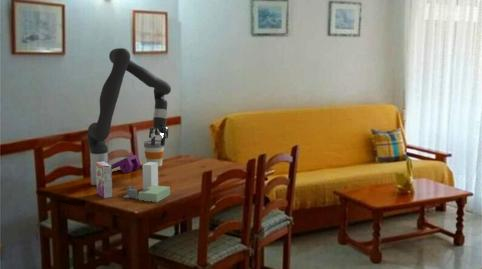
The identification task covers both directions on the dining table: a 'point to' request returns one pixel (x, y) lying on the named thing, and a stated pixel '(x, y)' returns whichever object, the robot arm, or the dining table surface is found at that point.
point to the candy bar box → (104, 179)
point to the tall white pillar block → (150, 174)
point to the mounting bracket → (127, 164)
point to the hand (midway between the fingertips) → (157, 145)
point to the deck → (148, 193)
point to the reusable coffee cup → (154, 152)
